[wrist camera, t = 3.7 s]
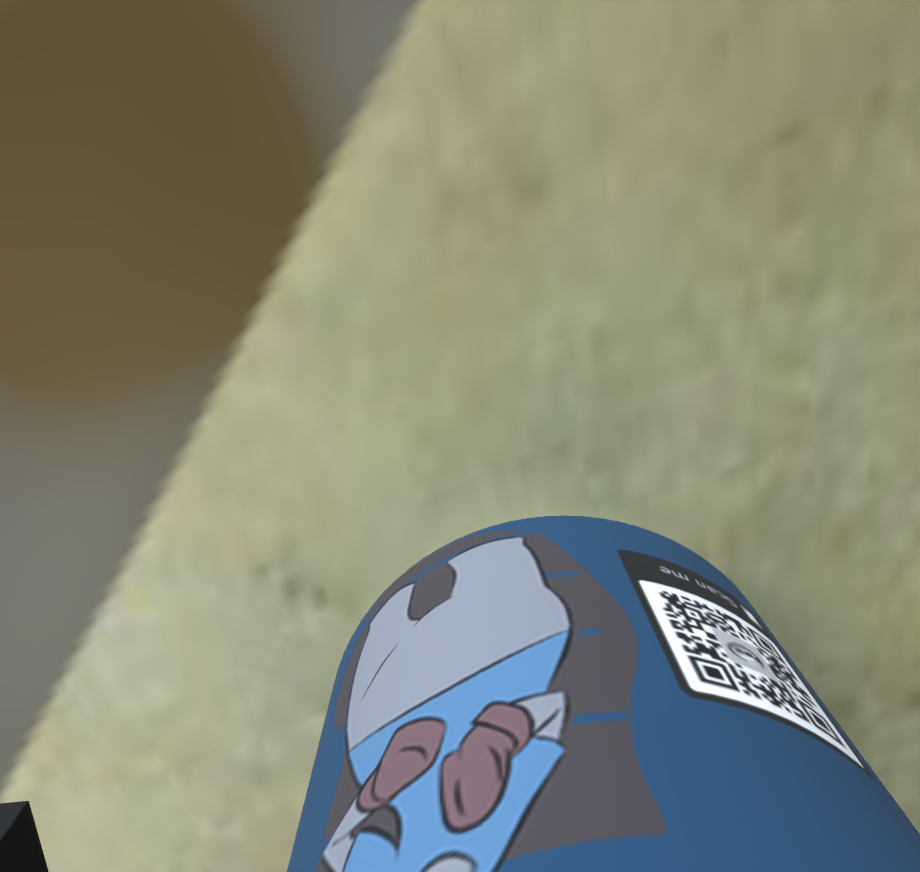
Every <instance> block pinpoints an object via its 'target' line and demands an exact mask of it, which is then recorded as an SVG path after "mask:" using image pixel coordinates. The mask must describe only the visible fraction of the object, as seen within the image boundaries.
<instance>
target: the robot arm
mask: <svg viewBox="0 0 920 872" xmlns="http://www.w3.org/2000/svg"><path fill="white" fill-rule="evenodd" d="M0 872H48V868H47V865H46V861H45V857H44V854H43V850H42V847H41V843H40V840H39V836H38V833H37V829H36V826H35V822H34V818H33V815H32V811H31V808H30V804H29V801H23V802H12V803H2V804H0Z"/></svg>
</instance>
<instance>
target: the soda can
mask: <svg viewBox="0 0 920 872" xmlns="http://www.w3.org/2000/svg"><path fill="white" fill-rule="evenodd" d="M287 872H920V834H919V833H918V831H917V830H916V829H915V827H914V826H913V825H912V823H911V822H910V821H909V819H908V818H907V817H906V815H905V814H904V812H903V811H902V810H901V808H900V807H899V806H898V804H897V803H896V802H895V800H894V799H893V797H892V796H891V795H890V793H889V792H888V791H887V789H886V788H885V787H884V785H883V784H882V782H881V781H880V780H879V778H878V777H877V776H876V774H875V773H874V772H873V770H872V769H871V767H870V766H869V765H868V763H867V762H866V761H865V759H864V758H863V757H862V755H861V754H860V753H859V751H858V750H857V748H856V747H855V746H854V744H853V743H852V742H851V740H850V739H849V738H848V736H847V735H846V733H845V732H844V731H843V729H842V728H841V727H840V725H839V724H838V723H837V721H836V720H835V718H834V717H833V716H832V714H831V713H830V712H829V710H828V709H827V708H826V706H825V705H824V704H823V702H822V701H821V699H820V698H819V697H818V695H817V694H816V693H815V691H814V690H813V689H812V687H811V686H810V684H809V683H808V682H807V680H806V679H805V678H804V676H803V675H802V674H801V672H800V671H799V669H798V668H797V667H796V665H795V664H794V663H793V661H792V660H791V659H790V657H789V656H788V654H787V653H786V652H785V650H784V649H783V648H782V646H781V645H780V644H779V642H778V641H777V640H776V638H775V637H774V635H773V634H772V633H771V631H770V630H769V629H768V627H767V626H766V625H765V623H764V622H763V620H762V619H761V618H760V616H759V615H758V614H757V612H756V611H755V610H754V608H753V607H752V606H751V604H750V603H749V602H748V600H747V599H746V598H745V596H744V595H743V594H742V593H741V592H740V591H739V590H738V588H737V587H736V586H735V585H734V584H733V583H732V582H731V581H730V580H729V579H728V578H727V577H726V576H724V575H723V574H722V573H721V572H720V571H719V570H718V569H716V568H715V567H714V566H712V565H711V564H710V563H709V562H707V561H706V560H705V559H703V558H702V557H700V556H699V555H697V554H696V553H694V552H693V551H691V550H689V549H688V548H686V547H684V546H682V545H680V544H679V543H677V542H675V541H673V540H671V539H668V538H666V537H664V536H662V535H659V534H657V533H654V532H651V531H649V530H646V529H643V528H640V527H637V526H633V525H629V524H626V523H622V522H617V521H612V520H607V519H601V518H593V517H584V516H545V517H536V518H527V519H521V520H516V521H510V522H506V523H502V524H498V525H495V526H491V527H488V528H485V529H482V530H479V531H476V532H473V533H471V534H468V535H466V536H464V537H461V538H459V539H457V540H455V541H453V542H451V543H449V544H447V545H445V546H443V547H441V548H439V549H438V550H436V551H434V552H433V553H431V554H430V555H428V556H426V557H425V558H423V559H422V560H421V561H419V562H418V563H416V564H415V565H414V566H412V567H411V568H410V569H408V570H407V571H406V572H405V573H404V574H403V575H401V576H400V577H399V578H398V579H397V580H396V581H394V582H393V583H392V584H391V585H390V586H389V587H388V588H387V589H386V590H385V591H384V592H383V594H382V595H381V596H380V597H379V598H378V599H377V601H376V602H375V603H374V604H373V605H372V607H371V608H370V609H369V611H368V612H367V613H366V615H365V616H364V618H363V619H362V620H361V622H360V624H359V626H358V627H357V629H356V631H355V632H354V634H353V636H352V637H351V640H350V642H349V644H348V646H347V648H346V650H345V652H344V655H343V657H342V660H341V663H340V665H339V668H338V672H337V675H336V679H335V683H334V687H333V690H332V694H331V698H330V702H329V706H328V710H327V714H326V718H325V722H324V726H323V730H322V734H321V738H320V742H319V746H318V750H317V754H316V758H315V762H314V766H313V770H312V774H311V778H310V782H309V786H308V790H307V794H306V798H305V802H304V806H303V810H302V814H301V818H300V822H299V826H298V830H297V834H296V838H295V842H294V846H293V850H292V854H291V858H290V862H289V866H288V870H287Z"/></svg>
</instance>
